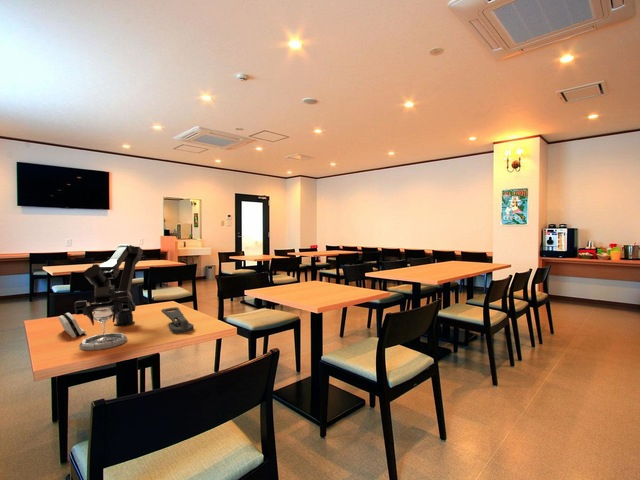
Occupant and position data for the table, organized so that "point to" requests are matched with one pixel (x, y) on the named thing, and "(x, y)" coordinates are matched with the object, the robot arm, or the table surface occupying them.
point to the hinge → (70, 325)
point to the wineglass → (103, 318)
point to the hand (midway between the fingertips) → (103, 323)
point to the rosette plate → (103, 342)
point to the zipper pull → (180, 324)
